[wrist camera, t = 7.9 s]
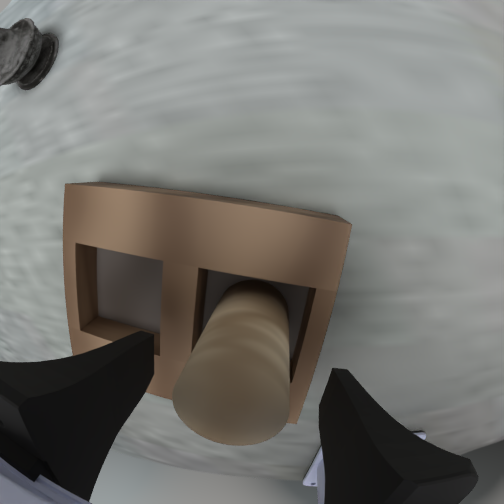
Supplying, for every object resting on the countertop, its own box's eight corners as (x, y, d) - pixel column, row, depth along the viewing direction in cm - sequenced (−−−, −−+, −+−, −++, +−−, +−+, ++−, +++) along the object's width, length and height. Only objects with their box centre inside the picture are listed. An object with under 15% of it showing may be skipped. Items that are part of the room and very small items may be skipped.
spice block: (338, 215, 16) (351, 224, 13) (295, 389, 19) (296, 423, 16) (98, 181, 17) (65, 183, 14) (99, 342, 20) (74, 365, 17)
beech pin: (295, 288, 16) (303, 377, 8) (279, 349, 17) (273, 453, 9) (223, 272, 16) (175, 349, 9) (213, 335, 17) (170, 429, 10)
